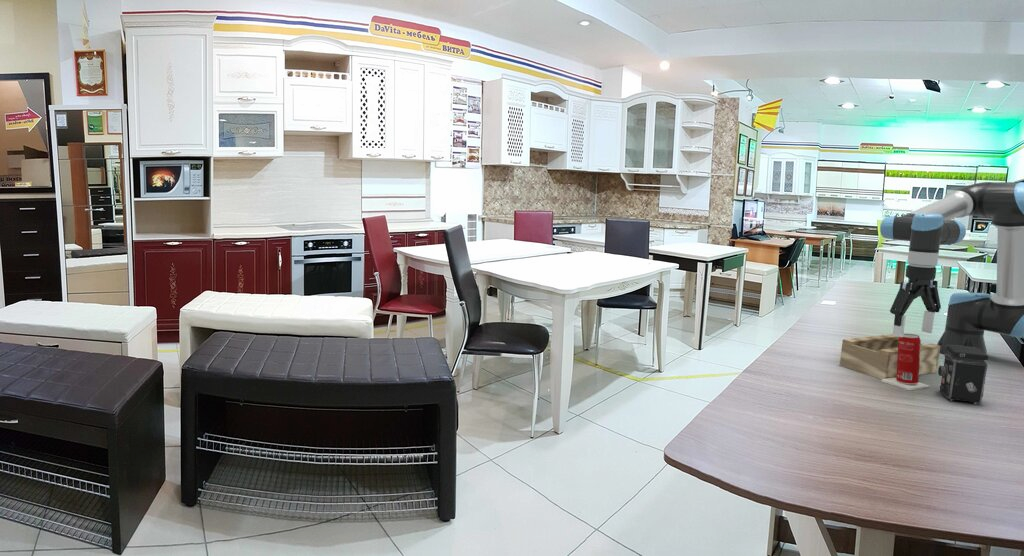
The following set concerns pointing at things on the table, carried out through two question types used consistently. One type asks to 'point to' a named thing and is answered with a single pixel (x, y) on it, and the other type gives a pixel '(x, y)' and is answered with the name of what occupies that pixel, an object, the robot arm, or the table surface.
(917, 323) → the table surface
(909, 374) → the beverage can
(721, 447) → the table surface
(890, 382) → the tile
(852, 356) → the slot box
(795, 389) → the table surface
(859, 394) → the table surface
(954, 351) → the camera
